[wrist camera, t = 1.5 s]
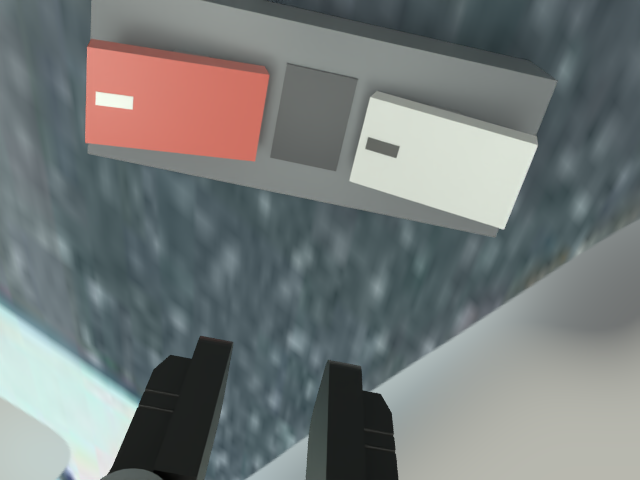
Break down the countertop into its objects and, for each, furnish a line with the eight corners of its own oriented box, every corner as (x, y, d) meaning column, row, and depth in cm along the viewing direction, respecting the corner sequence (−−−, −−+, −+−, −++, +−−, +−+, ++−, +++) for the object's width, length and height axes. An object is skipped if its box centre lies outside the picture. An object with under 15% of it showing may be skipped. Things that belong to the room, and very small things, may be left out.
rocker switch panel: (529, 60, 34) (564, 85, 28) (477, 201, 38) (499, 245, 33) (126, -32, 32) (83, -23, 27) (118, 126, 36) (80, 160, 31)
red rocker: (264, 66, 29) (269, 75, 28) (251, 149, 31) (255, 162, 30) (91, 38, 27) (87, 47, 25) (88, 130, 29) (85, 143, 27)
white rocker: (536, 136, 28) (537, 145, 27) (504, 217, 30) (503, 230, 29) (376, 90, 29) (369, 97, 28) (356, 171, 32) (348, 181, 30)
